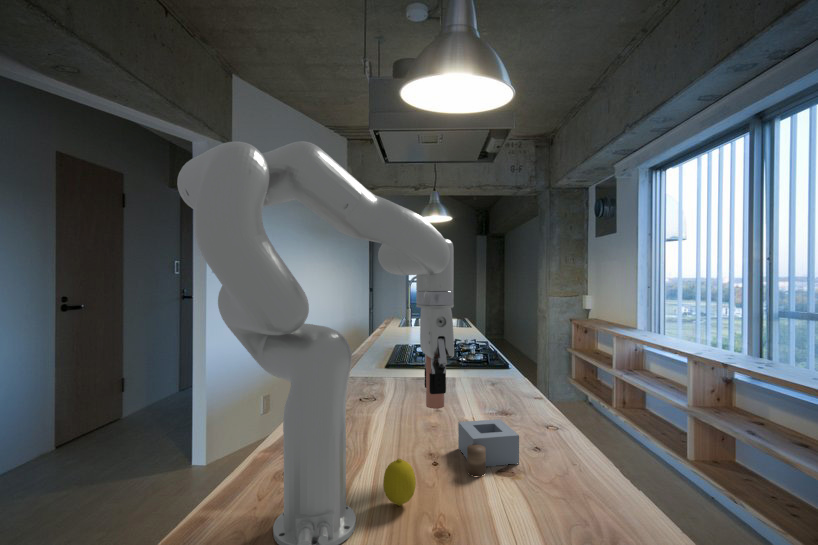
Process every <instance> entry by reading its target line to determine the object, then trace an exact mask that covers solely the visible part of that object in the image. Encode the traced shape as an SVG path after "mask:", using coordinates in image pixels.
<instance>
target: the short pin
mask: <svg viewBox="0 0 818 545" xmlns="http://www.w3.org/2000/svg"><path fill="white" fill-rule="evenodd" d="M466 460H467V461H466V467H467V469H466V470H467V471H466V472H468V473H469V474H470V475H473V476H482V475H484V474H485V473H487V472H486V471H487V469H486V468H487V467H486V448H485V447H484V446H482V445H478V444H472V445H469V446H468V447H467V459H466ZM468 473H467V474H468ZM470 475H469V476H470ZM485 475H486V474H485Z"/></svg>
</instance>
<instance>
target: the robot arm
mask: <svg viewBox="0 0 818 545" xmlns="http://www.w3.org/2000/svg"><path fill="white" fill-rule="evenodd" d="M177 191H178V192H179V196H180V197H181V199H182V200H183V202H184V203H185V204H186V205H187V206H188V207H190V208H191V209H193V210H194V234H195V239H196V242H197V246H198V248H199V252H200V254H201V255H202V257H203V259H204V261H205V262H206V264H207V265H208V266H209V269H211V271H212V272H213V274H214V275H215V276H216V278H217V280H218V281H219V283H220V284H221V285H222V286H221V287H220V290H219V291H218V296H217V306H218V311H219V314H220V316H221V319H222V320H223V323H224V324H225V325H226V327H227V328H228V329H229V330H230V332H231V333H232V334H233V336H234V337H235V338H236V339H237V341H239V343H240V344H241V345H242V346H243V347H244V349H245V350H246V352H248V353H249V355H250V356H251V358H252V359H254V360H255V361H256V363H257V365H258V366H260V367H261V368H262V370H264V371H265V372H266V373H268V374H270V375H271V376H273V377H276V378H279V379H282V380H285V381H287V382H289V383H290V388H289V392H288V396H287V398H286V400H285V404H284V407H283V408H284V410H283V416H282V420H283V421H282V423H283V424H282V431H283V433H282V434H283V511H282V512H281V513H280V514H279V515H278V517H276V519H275V521H274V523H273V527H272V531H273V532H272V534H273V539H274V541H275V542H276V544H278V545H341V544H342V543H344V542H345V541H346V540H347V539H349V538H350V537H351V536H352V534H353V533H354V531H355V530H356V525H357V516H356V513H355V511H354V510H353V508H351V507H350V506H349V505H347V447H346V446H347V432H346V431H347V427H346V425H347V424H346V422H347V421H346V420H347V419H346V416H347V415H346V414H347V412H346V410H347V395H348V394H347V393H348V392H347V391H348V385H349V380H350V375H351V371H352V362H353V357H352V354H353V353H352V350H351V346H350V344H349V342H348V340H347V339H346V338H345V336H344V335H343V334H341V333H340V332H339V331H338V330H336V329H334V328H331V327H328V326H325V325H319V324H318V325H317V324H313V323H306V321H307V320H308V316H309V312H310V304H309V299H308V297H307V294H306V292H305V291H304V289H303V287H302V286H301V284H300V283H299V281H298V280H297V279H296V277H295V276H294V274H293V272H291V270H290V269H289V267H288V265H287V264H286V263H285V262H284V260H283V259H282V257H281V255H279V253H278V252H277V250H276V248H275V247H274V245H273V244H272V242H271V241H270V239H269V237H268V235H267V233H266V231H265V227H264V226H265V225H264V221H263V209H264V208H265V207H268V206H274V205H279V204H282V203H283V204H285V203H288V202H289V203H290V202H293V201H297V202H299V203H300V204H302V205H303V207H304V206H305V208H307V209H308V210H310V211H311V212H312V213H314V214H315V215H317V217H319V218H321V219H322V220H323V221H325V222H326V223H327V224H328V225H330V226H331V227H333V228H334V229H335V230H336V231H338V232H339V233H340V234H343V235H345V236H348V237H351V238H355V239H358V240H363V241H368V242H369V241H370V242H374V243H379V244H381V246H380V247H379V249H378V254H377V258H378V262H379V265H380V266H381V268H382V269H383V270H384V271H386V272H387V273H389V274H392V275H395V276H416V287H415V288H416V295H415V296H416V297H415V298H416V301H415V303H416V306H415V307H416V308H420V325H419V327H420V328H419V336H420V337H419V340H420V341H419V342H420V350H421V352H422V353H424V388H425V389H426V355H427V356H428V357H430V358H431V373H430V393H431V394H444V395H445V394H446V392H447V364H448V360H447V357H448V358H449V359H453V358H454V356H455V338H454V324H453V323H454V322H453V311H452V309H453V308H454V307H455V306H454V305H455V304H454V298H455V297H454V296H455V295H454V275H455V274H454V269H455V268H454V265H455V264H454V260H455V258H454V243H453V241H451V239H448V238H444V236H443V235H442V233H441V232H440V231H438V229H437V228H436V227H434V225H432V224H431V223H430V222H429V221H428V220H427V219H426V218H424V217H423V216H422V215H420V214H419V213H417V212H415V211H413V210H411V209H409V208H407V207H404V206H402V205H399V204H397V203H395V202H392V201H391V200H388V199H386V198H384V197H381V196H379V195H376V194H374V193H373V192H371V191H370V190H369V189H367V188H366V187H365V186H364V185H363V184H362V183H361V182H359V180H357V178H355V177H354V176H353V175H351V174H350V173H349V172H348V171H347V170H346V169H345V168H344V167H342V166H341V165H340V164H339V163H338V162H337V161H336V160H334V159H333V158H332V156H330V155H329V154H328V153H327V152H325V150H323V149H322V148H321V147H319V145H316V144H315V143H313V142H309V141H305V140H301V141H294V142H290V143H288V144H285V145H282V146H280V147H277V148H275V149H273V150H270V151H269V150H268V151H267V152H261V151H260V150H259V149H257V147H255V145H253V144H251V143H248V142H244V141H238V140H237V141H234V140H233V141H228V142H224V143H220V144H219V145H216V146H214V147H212V148H210V149H207V150H206V151H204V152H203V153H201V154H199V155H197V156H195V157H193V158H191V159H189V160H188V161H186V163H185V164H184V165H183V166H182V167H181V169H180V171H179V172H178V176H177ZM436 354H438V357H435V358H434V356H435V355H436ZM435 361H438V362H436V364H435Z"/></svg>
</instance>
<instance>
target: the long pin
mask: <svg viewBox="0 0 818 545" xmlns="http://www.w3.org/2000/svg"><path fill="white" fill-rule="evenodd" d="M435 357H438V354H436V355H435V356H434V358H435ZM436 362H438V361H435V364H436ZM430 373H431V358H430V357H428V356H427V355H426V388H425V390H426V391H425V406H426V408H428V409H434V410H436V409H442V408H444V407H445V393H444V394H431V393H430Z"/></svg>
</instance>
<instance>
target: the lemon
mask: <svg viewBox="0 0 818 545" xmlns="http://www.w3.org/2000/svg"><path fill="white" fill-rule="evenodd" d="M382 481H383V482H382V484H383V491H384V494H385V496H386V498H387V499H388V500H389V502H391V503H393V504H396V506H399V507H401V506H403V505H404V504H406V503H408V502H409V501H410V500H411V499H412V498H413V496H414V494H415V491H416V485H417V484H416V474H415V472H414V469H413V467H412V465H411V464H410V463H409V462H408V461H406V460H404V459H402V458H397V459H396V460H394V461H392V462H391V463H389V464H388V465H387V467H386V468H385V471H384V475H383V480H382Z"/></svg>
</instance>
